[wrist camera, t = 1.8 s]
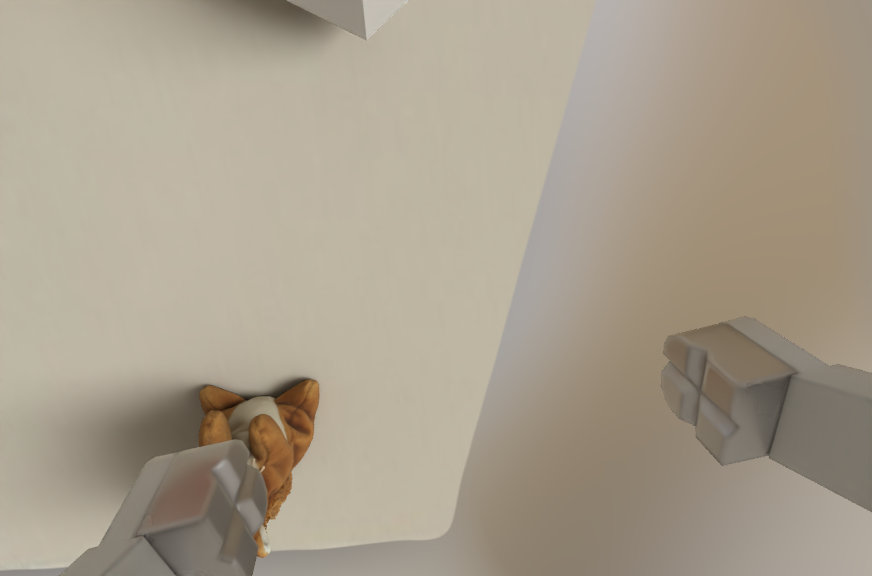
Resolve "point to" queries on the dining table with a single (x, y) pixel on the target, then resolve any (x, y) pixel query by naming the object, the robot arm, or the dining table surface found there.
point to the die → (353, 13)
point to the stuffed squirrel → (264, 436)
